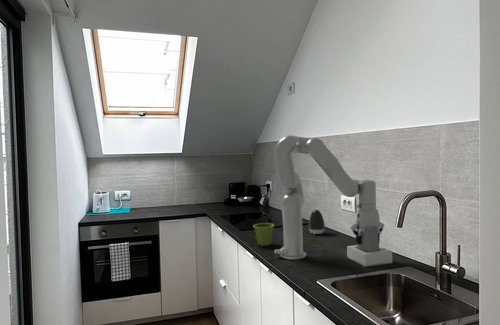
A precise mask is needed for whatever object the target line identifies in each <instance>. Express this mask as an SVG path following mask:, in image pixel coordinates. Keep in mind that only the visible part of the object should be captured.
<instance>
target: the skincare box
mask: <svg viewBox="0 0 500 325" xmlns="http://www.w3.org/2000/svg"><path fill="white" fill-rule="evenodd" d="M358 228H359V226H358V227H357V228H355V230H356V231H357V229H358ZM359 229H360V228H359ZM360 236H361V245H359V244H357V243H356V245H357V249H359V250H361V251H363V252H366V253H369V252H377V251H380V249H379V246H380V242H379V241H380V240H379V238H378V227H377V226H373V227H367V228H365V232H362V233H361V235H360Z"/></svg>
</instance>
